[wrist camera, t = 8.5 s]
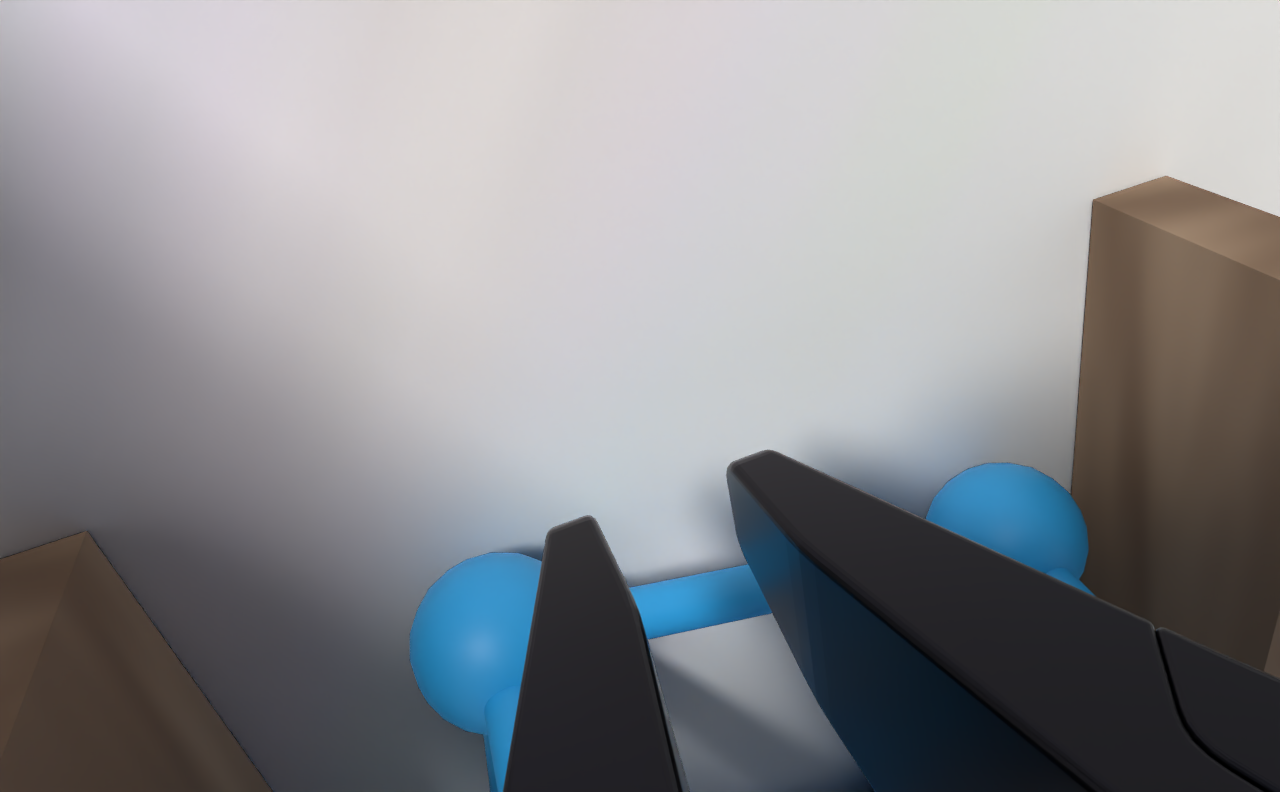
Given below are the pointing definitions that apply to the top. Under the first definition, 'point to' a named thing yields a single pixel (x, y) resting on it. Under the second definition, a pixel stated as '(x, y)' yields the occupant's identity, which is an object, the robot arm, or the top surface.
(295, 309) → the top surface
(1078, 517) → the molecular structure
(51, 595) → the box
